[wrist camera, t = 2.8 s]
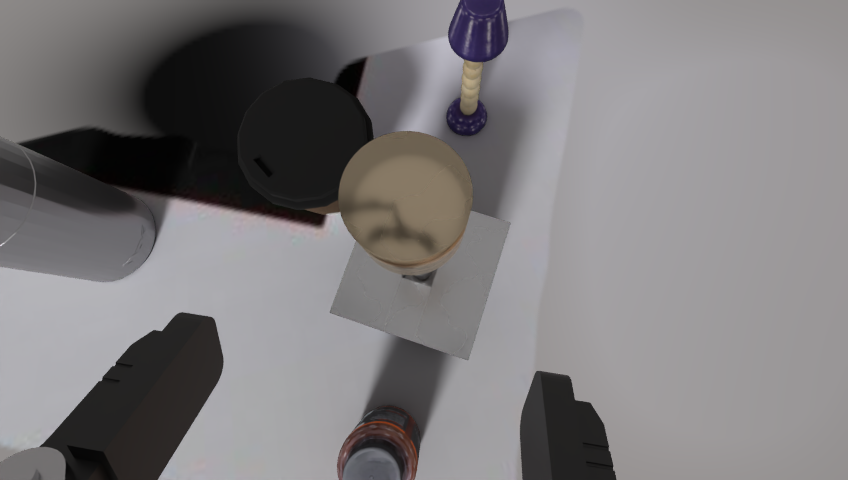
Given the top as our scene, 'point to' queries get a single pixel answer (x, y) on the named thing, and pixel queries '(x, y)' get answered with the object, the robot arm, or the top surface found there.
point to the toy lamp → (475, 57)
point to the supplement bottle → (381, 447)
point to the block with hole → (427, 292)
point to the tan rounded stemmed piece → (407, 202)
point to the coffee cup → (302, 143)
